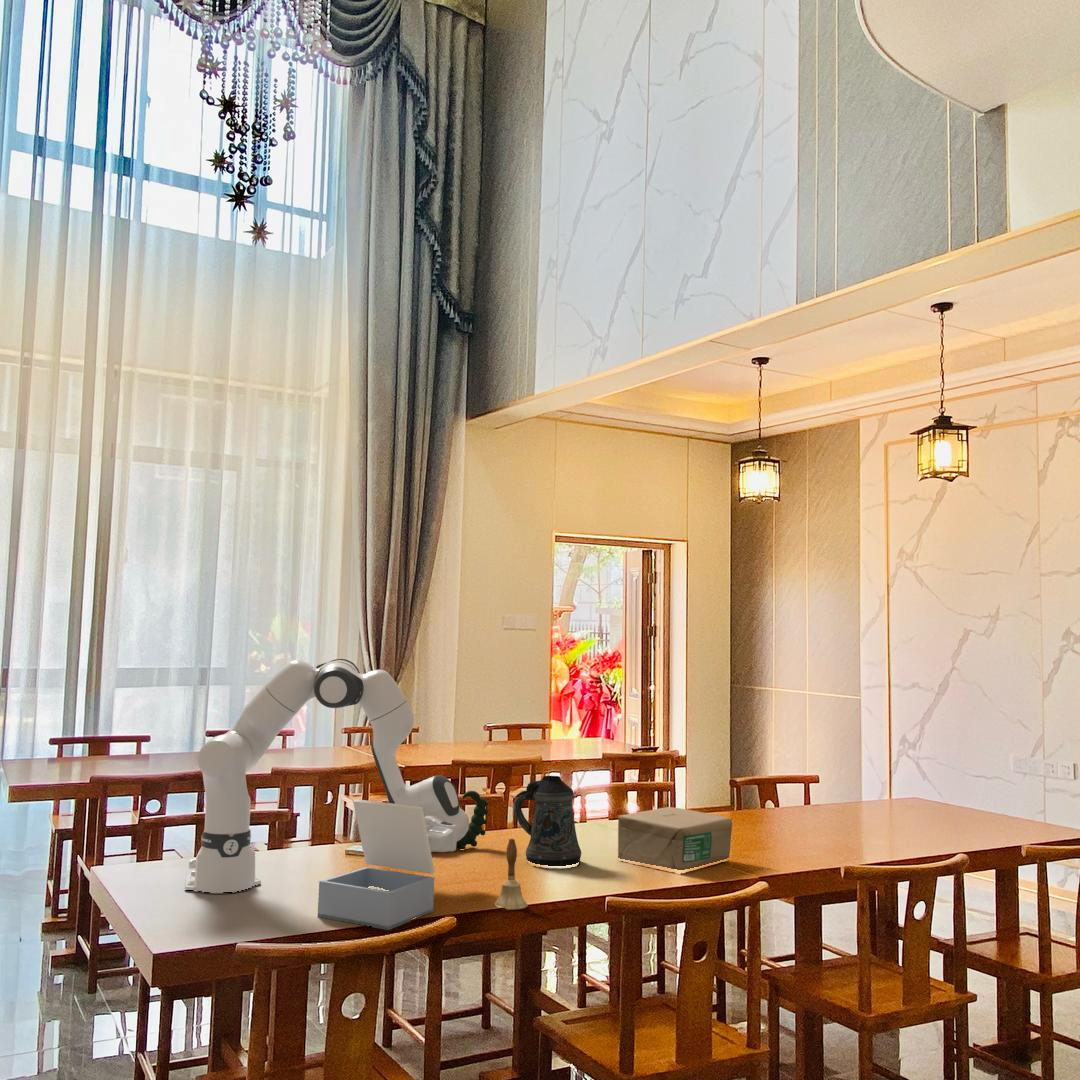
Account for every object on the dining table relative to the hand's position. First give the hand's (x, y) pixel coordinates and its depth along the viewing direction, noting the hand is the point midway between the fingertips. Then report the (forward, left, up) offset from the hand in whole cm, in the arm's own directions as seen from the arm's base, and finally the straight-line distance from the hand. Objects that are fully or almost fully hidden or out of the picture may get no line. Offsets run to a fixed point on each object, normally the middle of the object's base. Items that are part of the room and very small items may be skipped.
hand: (396, 844), depth 244 cm
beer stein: (-29, +59, -15) cm, 67 cm away
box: (+4, -6, -15) cm, 17 cm away
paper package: (-17, +96, -15) cm, 99 cm away
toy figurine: (-57, +39, -15) cm, 71 cm away
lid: (+1, -2, +2) cm, 3 cm away
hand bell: (+9, +27, -15) cm, 32 cm away
